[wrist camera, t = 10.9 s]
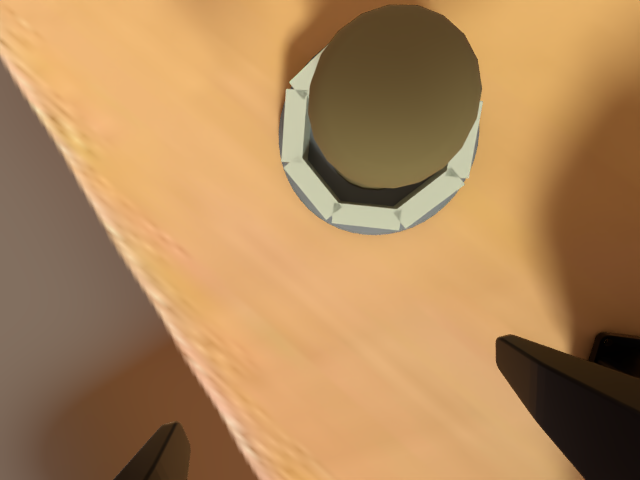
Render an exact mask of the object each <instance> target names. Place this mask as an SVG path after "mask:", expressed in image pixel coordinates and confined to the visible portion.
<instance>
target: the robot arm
mask: <svg viewBox="0 0 640 480" xmlns="http://www.w3.org/2000/svg"><path fill="white" fill-rule="evenodd" d="M607 339H608V341H607V342H606V343H604V341H605V340H607ZM496 363H497V366H498V368H499V370H500V371H501V373H502V374H503V376H504V377H505V378H506V380H507V381H508V383H509V384H510V386H511V387H512V388H513V390H514V391H515V393H516V394H517V395H518V397H519V398H520V400H521V401H522V403H523V404H524V405H525V407H526V408H527V410H528V411H529V412H530V414H531V415H532V416H533V418H534V419H535V420H536V422H537V423H538V424H539V425H540V427H541V428H542V429H543V430H544V431H545V433H546V434H547V435H548V436H549V437H550V438H551V440H552V441H553V442H554V443H555V444H556V446H557V447H558V448H559V449H560V450H561V451H562V453H563V454H564V455H565V456H566V457H567V459H568V460H569V461H570V462H571V463H572V464H573V466H574V467H575V468H576V469H577V470H578V472H579V473H580V474H581V475H582V476H583V477H584V479H585V480H640V337H637V336H629V335H622V334H614V333H607V332H602V333H600V334H598V335H597V336H596V338H595V342H594V345H593V348H592V352H591V355H590V358H589V361H587V360H584V359H581V358H578V357H575V356H572V355H569V354H567V353H564V352H561V351H558V350H555V349H552V348H549V347H547V346H544V345H541V344H538V343H535V342H532V341H529V340H526V339H524V338H521V337H518V336H515V335H511V334H509V335H505V336H501V337H498V338H497V339H496ZM189 460H190V443H189V440H188V438H187V436H186V433H185V431H184V429H183V426H182V424H181V423H180V422H179V421H175V422H171V423H167V424H164V425H162V426H161V427H160V428H159V429H158V430H157V432H156V433H155V434H154V435H153V436H152V437H151V438H150V439H149V440H148V441H147V443H146V444H145V445H144V446H143V447H142V448H141V449H140V450H139V452H138V453H137V454H136V455H135V456H134V457H133V458H132V460H130V462H129V463H128V464H127V465H126V466H125V467H124V468H123V470H122V471H121V472H120V473H119V474H118V475H117V476H116V477H115V479H114V480H187V477H188V468H189Z"/></svg>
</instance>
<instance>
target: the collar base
mask: <svg viewBox="0 0 640 480" xmlns="http://www.w3.org/2000/svg"><path fill="white" fill-rule="evenodd" d="M327 46H328V45H327ZM327 46H326V47H327ZM326 47H325V48H326ZM325 48H324V49H322V50H321V51H320V52H319V53H318V54H317V55H315V56H314V57H313V58H312V59H311V60H310V61H309V62H308V63H307V65H306V66H305V67H304V68H303V69H302V70H301V71H300V72H299V73H298V74H297V75H296V76H295V77H294V78H293V79H292V80H291V81H290V82H289V83H290V84H291V88H290V89H286V97H285V103H284V106H283V110H282V114H281V118H280V126H279V148H280V156H281V162H282V164H283V168H284V171H285V173H286V176H287V178H288V181H289V183H290V184H291V186H292V188H293V190H294V192H295V193H296V194H297V196H298V197H299V199H300V200H301V201H302V202H303V203H304V204H305V205H306V207H307V208H308V209H309V210H310V211H312V212H313V213H314V214H315V215H316V216H318V217H319V218H321V219H322V220H324V221H325V222H327V223H329V224H331V225H333V226H335V227H337V228H339V229H342V230H345V231H349V232H352V233H358V234H365V235H382V234H390V233H395V232H400V231H403V230H406V229H409V228H412V227H414V226H416V225H418V224H420V223H422V222H424V221H426V220H427V219H429V218H430V217H432V216H433V215H435V214H436V213H437V212H438V211H440V210H441V209H442V208H443V207H444V206H445V205H446V204H447V203H448V202H449V201H450V200H451V199H452V198H453V197H454V196H455V194H456V193H457V191H458V190H459V189H460V188H461V187H462V186H463V185H465V184H464V181H465V179H466V178H469V174H470V169H471V166H472V164H473V161H474V158H475V154H476V150H477V146H478V138H479V120H480V115H481V109H482V104H483V101H480V103H479V109H478V115H477V119H476V121H475V123H474V125H473V127H472V129H471V131H470V133H469V135H468V137H467V139H466V141H465V143H464V145H463V147H462V148H461V150H460V151H459V152H458V153H457V154H456V155H455V156H454V157H453V158H452V159H451V160H450V161H449V162H448V164H447V165H446V166H445V167H444V168H443V169H441V170H440V171H438V172H436V173H434V174H433V175H431V176H429V177H428V178H426V179H424V180H423V181H421V182H419V183H415V184H411V185H406V186H402V187H398V188H386V189H382V190H367V189H361V188H359V187H357V186H354V185H352V184H349V183H348V182H347V181H346V180H345V179H343V178H342V177H341V176H340V175H339V174H338V173H337V171H336V170H335V168H334V166H333V165H331V164H330V163H329V162H328V161H327V160H326V158H325V156H324V155H323V153H322V151H321V150H320V148H319V146H318V145H317V143H316V141H315V140H314V137H313V132H312V128H311V124H310V120H309V115H308V105H309V89H310V83H311V80H312V77H313V75H314V72H315V69H316V66H317V64H318V61H319V58H320V55H321V54H322V52H323V51H324V50H325Z"/></svg>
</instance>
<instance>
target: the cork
mask: <svg viewBox="0 0 640 480" xmlns="http://www.w3.org/2000/svg"><path fill="white" fill-rule="evenodd" d="M481 91H482V86H481V79H480V72H479V65H478V59H477V58H476V56H475V54H474V52H473V50H472V48H471V46H470V44H469V42H468V40H467V38H466V36H465V34H464V33H462V32H461V31H460V30H459V29H458V28H457V27H456V26H455V25H454V24H453V23H451V22H450V21H449V20H448V19H447V18H446V17H445V16H444V15H441V14H439V13H436V12H434V11H431V10H428V9H426V8H423V7H421V6H418V5H387V6H384V7H381V8H378V9H375V10H372V11H369V12H366V13H363V14H361V15H359V16H358V17H357V18H355V19H354V20H353V21H351V22H350V23H349V24H347V25H346V26H345V27H343V28H342V29H341V30H339V31H338V32H337V33H336V35H335V36H334V37H333V39H332V40H331V42H330V43H329V44H328V46H327V47H326V48H325V50H324V51H323V52H322V54H321V55H320V58H319V61H318V64H317V66H316V69H315V72H314V75H313V77H312V80H311V83H310V89H309V105H308V115H309V120H310V124H311V128H312V132H313V137H314V140H315V141H316V143H317V145H318V146H319V148H320V150H321V151H322V153H323V155H324V156H325V158H326V160H327V161H328V162H329V163H330V164H331V165H333V166H334V168H335V170H336V171H337V173H338V174H339V175H340V176H341V177H342V178H343V179H345V180H346V181H347V182H348V183H349V184H352V185H354V186H357V187H359V188H361V189H367V190H382V189H386V188H398V187H402V186H406V185H411V184H415V183H419V182H421V181H423V180H424V179H426V178H428V177H429V176H431V175H433V174H434V173H436V172H438V171H440V170H441V169H443V168H444V167H445V166H446V165H447V164H448V162H449V161H450V160H451V159H452V158H453V157H454V156H455V155H456V154H457V153H458V152H459V151H460V150H461V148H462V147H463V145H464V143H465V141H466V139H467V137H468V135H469V133H470V131H471V129H472V127H473V125H474V123H475V121H476V119H477V115H478V109H479V103H480V97H481Z"/></svg>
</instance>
